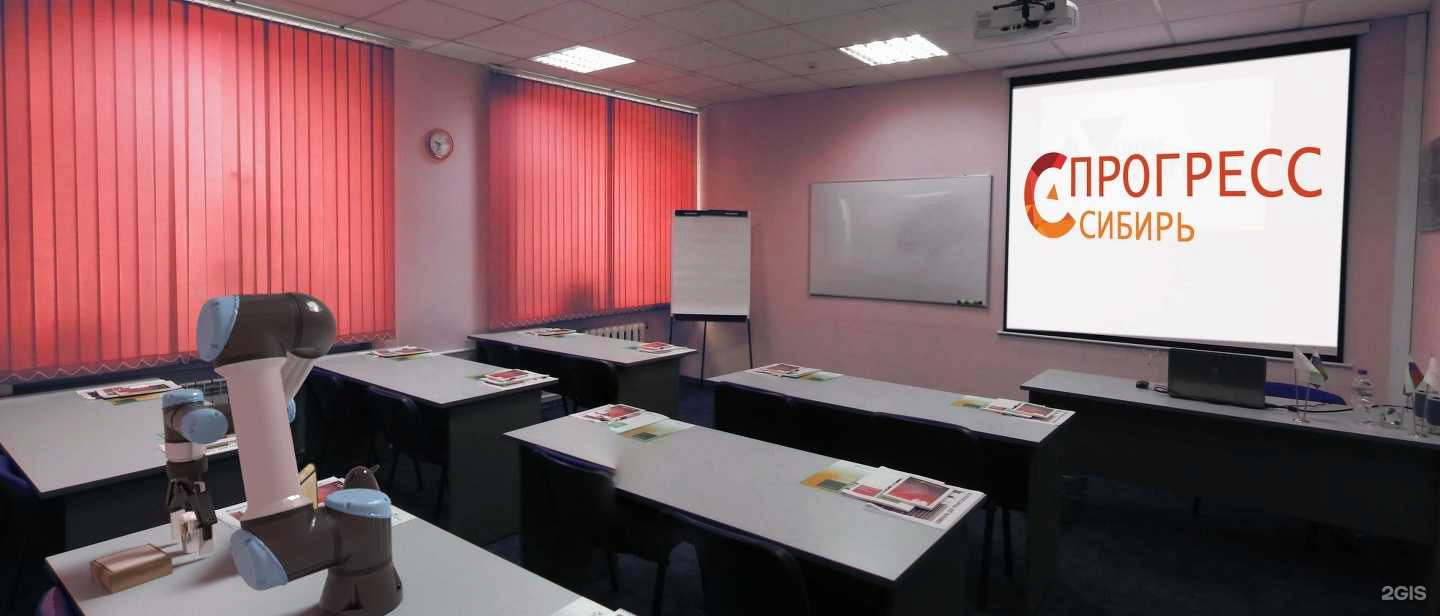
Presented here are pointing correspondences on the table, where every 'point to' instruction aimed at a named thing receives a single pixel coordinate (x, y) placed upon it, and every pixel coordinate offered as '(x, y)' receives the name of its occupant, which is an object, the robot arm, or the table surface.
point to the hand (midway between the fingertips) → (192, 545)
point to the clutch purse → (309, 483)
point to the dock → (131, 568)
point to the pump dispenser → (361, 479)
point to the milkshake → (188, 532)
